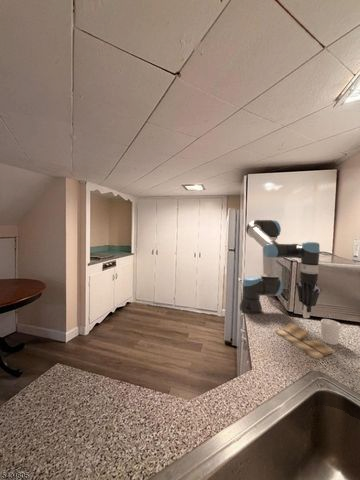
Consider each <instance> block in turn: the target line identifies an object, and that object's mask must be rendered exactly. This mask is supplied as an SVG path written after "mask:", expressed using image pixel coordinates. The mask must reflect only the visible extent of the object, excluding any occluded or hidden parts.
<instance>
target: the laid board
mask: <svg viewBox="0 0 360 480" xmlns="http://www.w3.org/2000/svg"><path fill="white" fill-rule="evenodd" d="M274 333H275V334H277V335H279V336H280V337H282V338H283V339H285V340H287V341H288V342H289V343H291V344H293V345H294V346H295V347H297V348H299V349H300V350H302V351H303V352H304V353H306V354H308V355H310V356H311V357H312V358H314V359H321V358H324V356H323V354H321V353H319V352H318V351H316V350H314V349H313V348H311V347H309V346H308V345H306V344H304V343H303V342H302V340H301V341H300V340H298V339H296V338H295V337H293V336H291V335H290V334H288V333H287V332H285V331H283V329H276V330H275V332H274Z"/></svg>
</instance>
